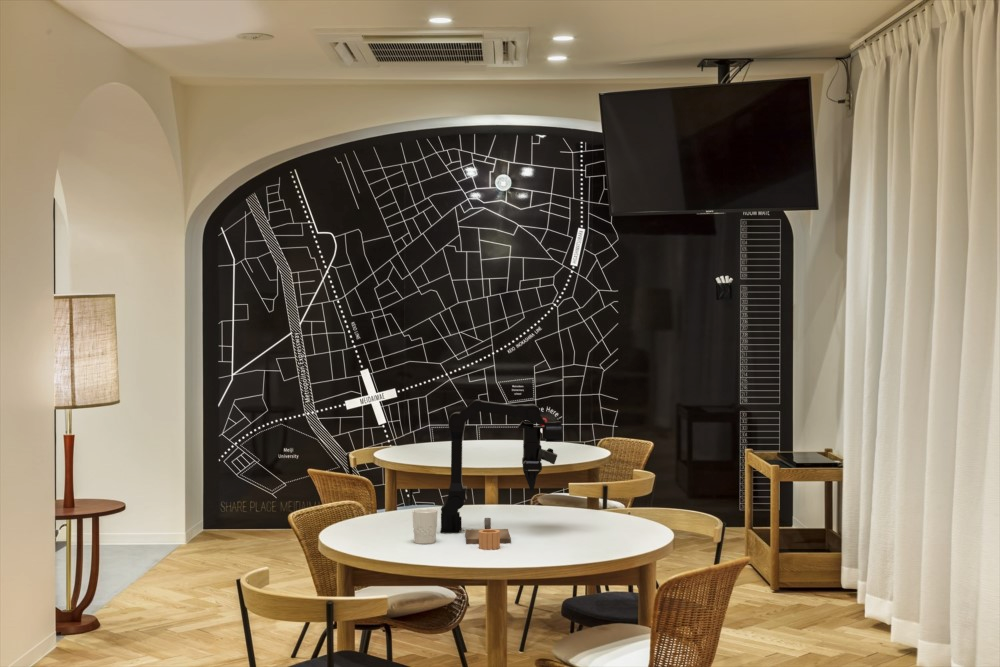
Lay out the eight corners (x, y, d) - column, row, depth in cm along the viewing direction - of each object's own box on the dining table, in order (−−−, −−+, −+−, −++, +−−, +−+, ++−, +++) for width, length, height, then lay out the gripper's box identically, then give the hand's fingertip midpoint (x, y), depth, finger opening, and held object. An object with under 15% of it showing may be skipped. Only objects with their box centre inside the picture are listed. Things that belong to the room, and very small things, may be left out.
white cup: (408, 543, 303) (408, 511, 303) (419, 538, 311) (418, 507, 311) (431, 545, 301) (431, 513, 301) (441, 540, 308) (441, 509, 308)
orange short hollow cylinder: (479, 549, 293) (479, 533, 293) (478, 545, 300) (478, 529, 300) (500, 549, 294) (500, 533, 294) (499, 545, 300) (499, 529, 300)
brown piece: (466, 543, 302) (466, 523, 302) (465, 534, 318) (465, 514, 318) (510, 543, 303) (510, 522, 303) (507, 533, 319) (507, 513, 319)
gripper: (557, 444, 314) (557, 492, 314) (554, 439, 333) (554, 484, 332) (523, 444, 314) (522, 492, 314) (522, 439, 333) (522, 484, 332)
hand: (531, 488), depth 323 cm, fingers open, 9 cm apart
